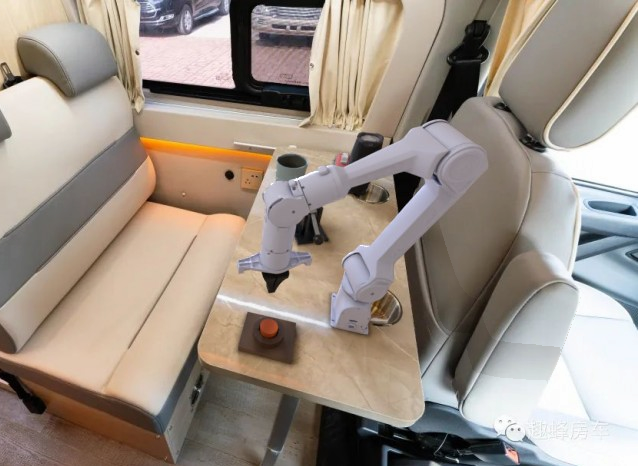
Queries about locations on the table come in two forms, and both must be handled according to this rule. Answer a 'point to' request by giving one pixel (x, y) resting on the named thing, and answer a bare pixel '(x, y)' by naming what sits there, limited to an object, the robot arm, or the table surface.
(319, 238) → the lever
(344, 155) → the walkie-talkie
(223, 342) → the table surface
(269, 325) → the button
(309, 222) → the bracket
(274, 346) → the button block
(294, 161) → the green cup
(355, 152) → the portable speaker
